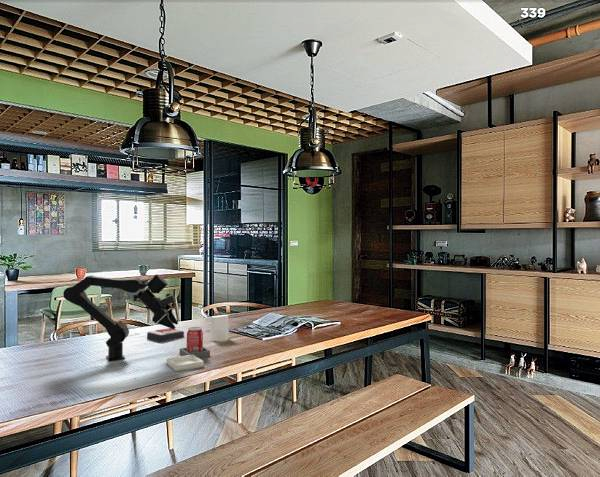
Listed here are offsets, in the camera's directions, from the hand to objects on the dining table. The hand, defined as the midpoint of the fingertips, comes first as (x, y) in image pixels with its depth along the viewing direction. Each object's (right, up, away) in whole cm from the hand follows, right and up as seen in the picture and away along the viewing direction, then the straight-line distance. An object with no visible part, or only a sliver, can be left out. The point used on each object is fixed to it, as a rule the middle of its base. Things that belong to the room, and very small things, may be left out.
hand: (176, 326), depth 192 cm
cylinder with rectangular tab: (+13, -13, +32) cm, 37 cm away
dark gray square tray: (+7, -14, +3) cm, 16 cm away
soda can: (+7, -14, +3) cm, 16 cm away
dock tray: (+7, -14, -12) cm, 20 cm away
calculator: (-15, -13, +33) cm, 39 cm away
